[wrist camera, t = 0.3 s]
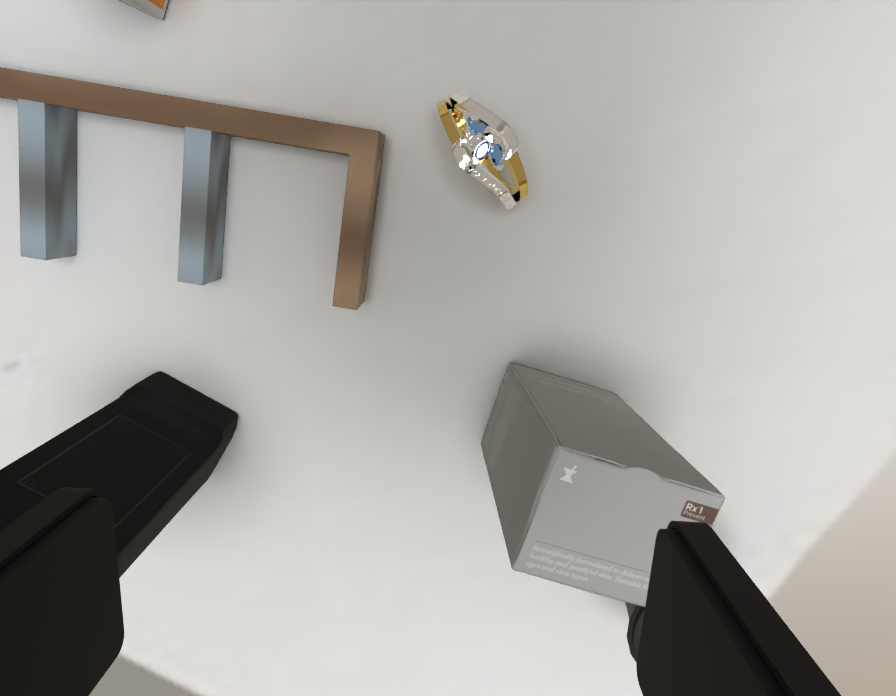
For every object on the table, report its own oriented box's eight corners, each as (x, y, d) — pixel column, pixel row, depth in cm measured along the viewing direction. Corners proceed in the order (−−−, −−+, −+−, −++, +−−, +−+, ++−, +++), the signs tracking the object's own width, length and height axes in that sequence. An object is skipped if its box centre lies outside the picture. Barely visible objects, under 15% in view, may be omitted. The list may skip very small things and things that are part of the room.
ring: (428, 119, 37) (422, 98, 29) (474, 90, 36) (479, 62, 29) (484, 218, 38) (492, 224, 30) (529, 192, 38) (548, 192, 30)
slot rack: (-106, 53, 36) (-155, 41, 33) (384, 136, 37) (379, 131, 34) (-94, 228, 39) (-139, 230, 36) (363, 301, 40) (356, 309, 37)
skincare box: (479, 441, 42) (493, 583, 27) (513, 348, 40) (549, 442, 25) (591, 476, 43) (668, 635, 27) (630, 385, 41) (735, 500, 26)
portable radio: (107, 430, 42) (-364, 748, 18) (141, 359, 41) (-316, 600, 17) (207, 483, 43) (-111, 854, 19) (244, 416, 42) (-46, 723, 18)
